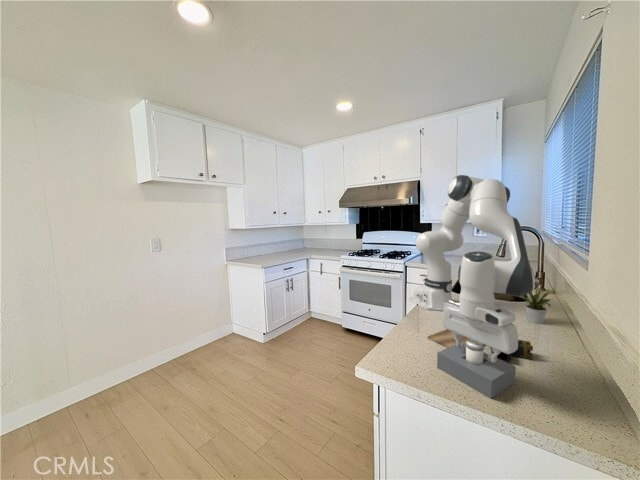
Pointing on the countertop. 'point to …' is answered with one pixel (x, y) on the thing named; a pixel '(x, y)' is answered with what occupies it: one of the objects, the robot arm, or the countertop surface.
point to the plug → (474, 352)
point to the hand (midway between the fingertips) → (475, 353)
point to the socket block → (477, 371)
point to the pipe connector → (517, 351)
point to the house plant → (536, 306)
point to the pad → (446, 338)
